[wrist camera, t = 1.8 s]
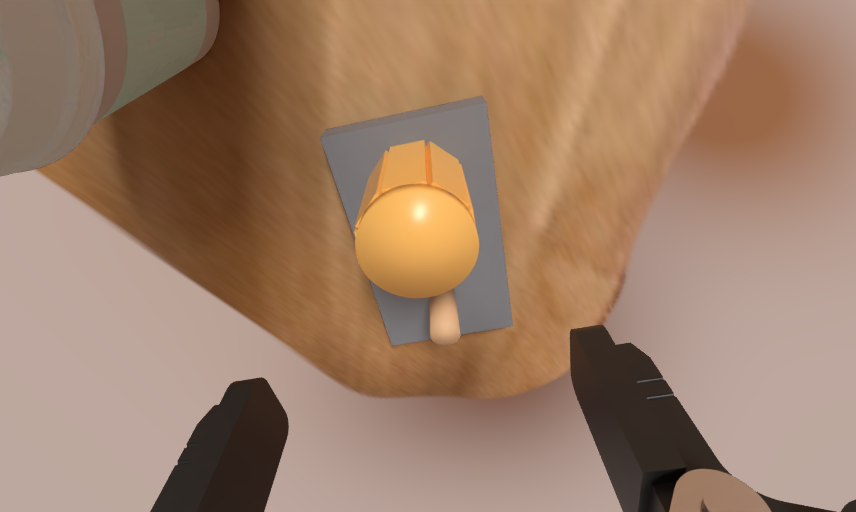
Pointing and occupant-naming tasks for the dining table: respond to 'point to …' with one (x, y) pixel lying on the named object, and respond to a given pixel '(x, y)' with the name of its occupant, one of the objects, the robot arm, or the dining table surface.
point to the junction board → (471, 144)
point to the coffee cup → (87, 66)
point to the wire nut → (416, 222)
